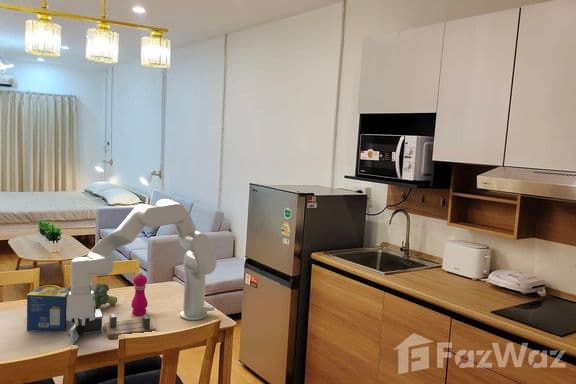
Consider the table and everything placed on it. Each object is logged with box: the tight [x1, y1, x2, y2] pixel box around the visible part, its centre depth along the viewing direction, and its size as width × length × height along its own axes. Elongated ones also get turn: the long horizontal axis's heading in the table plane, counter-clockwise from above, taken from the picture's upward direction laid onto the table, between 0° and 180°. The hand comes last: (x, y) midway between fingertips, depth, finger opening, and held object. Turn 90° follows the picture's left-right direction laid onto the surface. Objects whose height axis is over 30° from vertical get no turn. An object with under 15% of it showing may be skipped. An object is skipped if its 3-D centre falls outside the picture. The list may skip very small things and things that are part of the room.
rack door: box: [67, 324, 81, 346], centre depth 188 cm, size 10×2×6 cm, turn 7°
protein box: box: [26, 286, 74, 333], centre depth 199 cm, size 10×15×16 cm
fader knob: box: [108, 313, 118, 328], centre depth 200 cm, size 2×4×4 cm, turn 27°
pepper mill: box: [130, 271, 149, 317], centre depth 220 cm, size 7×7×20 cm
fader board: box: [103, 314, 157, 340], centre depth 201 cm, size 19×13×6 cm
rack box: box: [80, 308, 103, 336], centre depth 199 cm, size 9×9×7 cm
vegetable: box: [92, 282, 118, 309], centre depth 226 cm, size 12×13×15 cm
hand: (80, 334), depth 187 cm, fingers closed
